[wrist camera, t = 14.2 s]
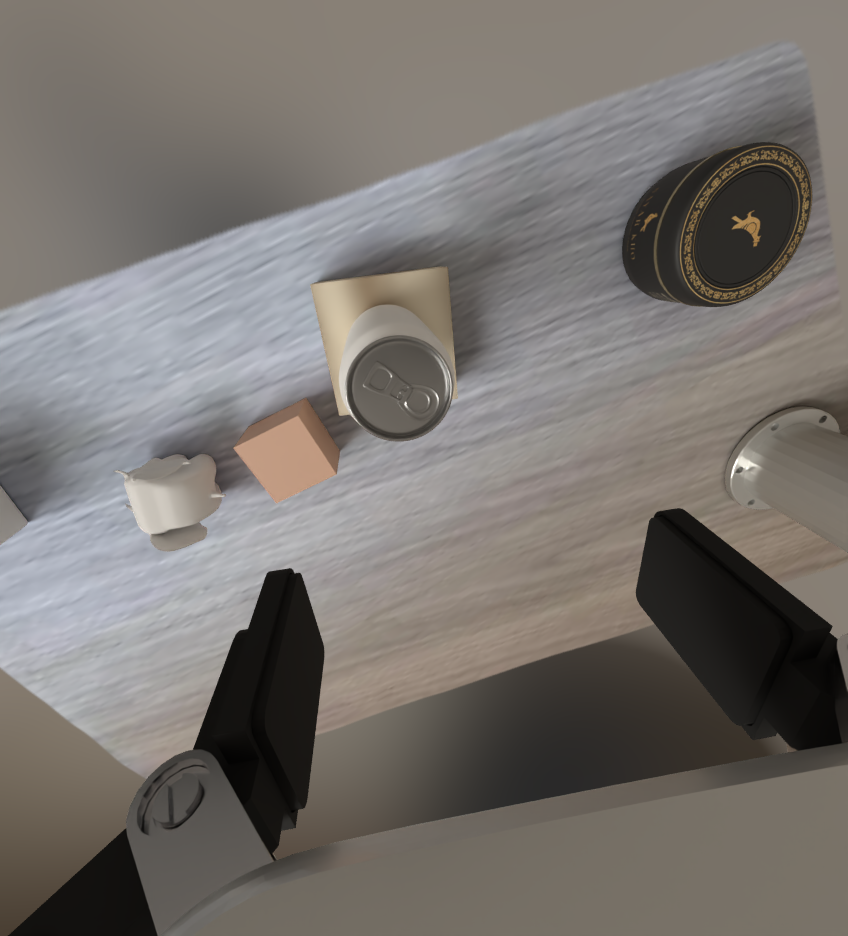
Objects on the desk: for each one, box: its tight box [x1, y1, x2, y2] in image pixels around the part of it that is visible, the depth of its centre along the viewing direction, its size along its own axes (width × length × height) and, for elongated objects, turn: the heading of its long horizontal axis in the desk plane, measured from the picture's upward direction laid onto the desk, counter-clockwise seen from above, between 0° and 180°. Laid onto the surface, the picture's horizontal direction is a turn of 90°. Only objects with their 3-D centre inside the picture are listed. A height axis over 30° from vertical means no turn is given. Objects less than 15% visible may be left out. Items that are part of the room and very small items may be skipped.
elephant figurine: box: [114, 454, 226, 552], centre depth 35 cm, size 8×10×7 cm
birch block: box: [310, 266, 458, 416], centre depth 33 cm, size 10×10×4 cm
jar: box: [622, 142, 812, 307], centre depth 31 cm, size 10×10×8 cm
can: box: [339, 305, 455, 441], centre depth 26 cm, size 6×6×12 cm
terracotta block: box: [234, 398, 340, 503], centre depth 36 cm, size 6×6×5 cm
